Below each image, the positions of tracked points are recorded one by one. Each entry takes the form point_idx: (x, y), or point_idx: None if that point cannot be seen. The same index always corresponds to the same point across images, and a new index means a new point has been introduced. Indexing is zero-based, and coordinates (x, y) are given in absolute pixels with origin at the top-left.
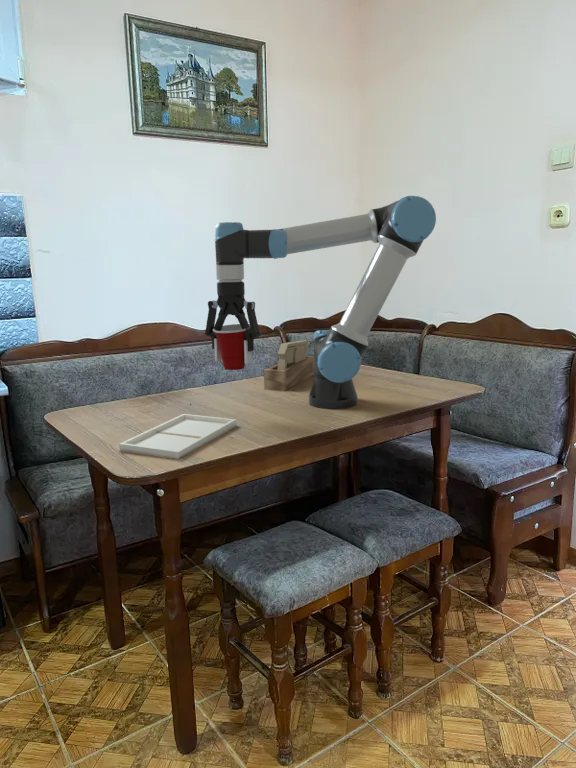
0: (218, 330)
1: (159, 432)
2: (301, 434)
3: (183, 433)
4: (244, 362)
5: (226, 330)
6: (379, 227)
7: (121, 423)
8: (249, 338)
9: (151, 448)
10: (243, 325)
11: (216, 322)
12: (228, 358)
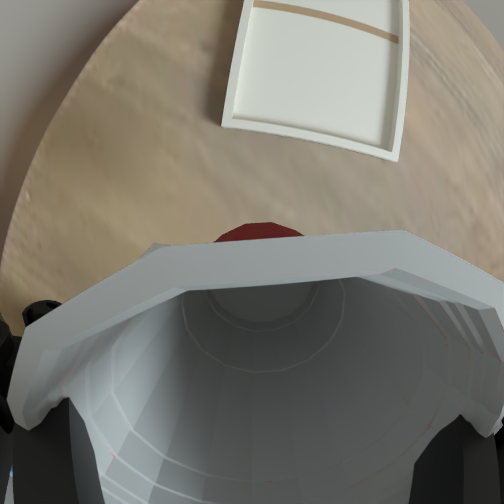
0: (440, 448)
1: (390, 35)
2: (60, 126)
3: (332, 29)
4: (194, 291)
5: (364, 493)
6: None
7: (491, 138)
8: (28, 316)
9: None
10: (30, 475)
11: (495, 495)
12: (273, 227)
